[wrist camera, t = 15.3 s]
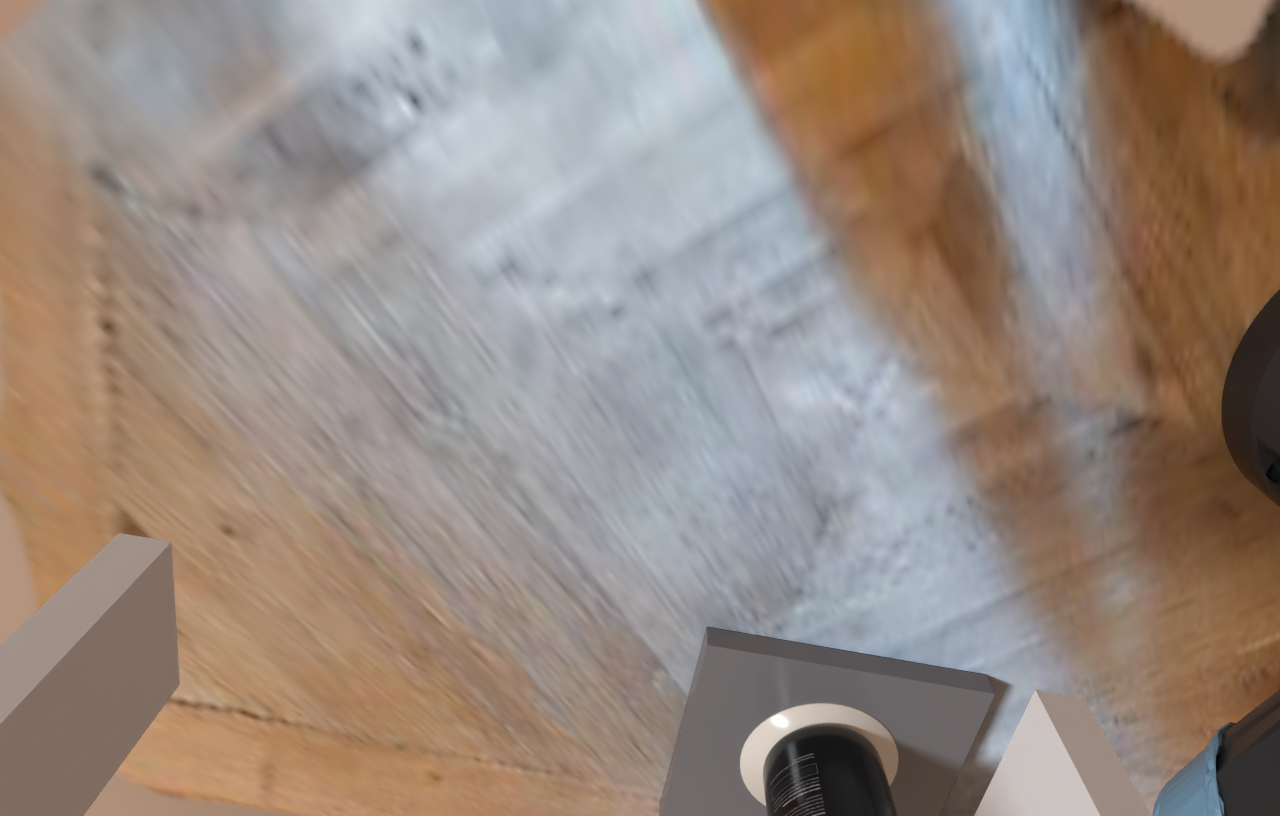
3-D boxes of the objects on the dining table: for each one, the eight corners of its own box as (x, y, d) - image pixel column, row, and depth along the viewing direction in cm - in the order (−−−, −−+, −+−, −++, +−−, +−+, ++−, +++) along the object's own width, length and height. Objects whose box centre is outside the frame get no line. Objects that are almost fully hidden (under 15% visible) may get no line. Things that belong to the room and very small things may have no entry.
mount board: (986, 674, 49) (995, 695, 48) (910, 844, 55) (916, 867, 54) (706, 627, 49) (707, 646, 47) (659, 804, 54) (659, 826, 53)
